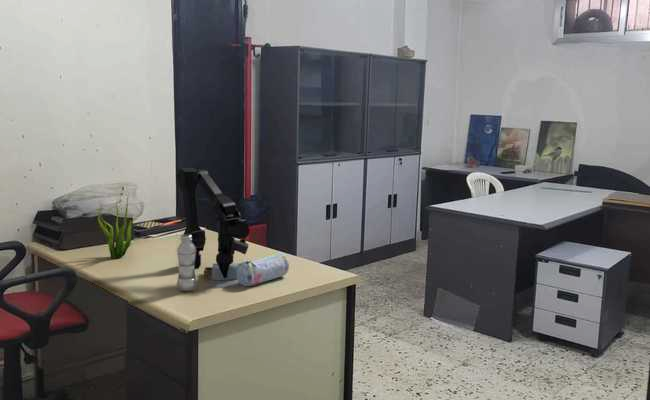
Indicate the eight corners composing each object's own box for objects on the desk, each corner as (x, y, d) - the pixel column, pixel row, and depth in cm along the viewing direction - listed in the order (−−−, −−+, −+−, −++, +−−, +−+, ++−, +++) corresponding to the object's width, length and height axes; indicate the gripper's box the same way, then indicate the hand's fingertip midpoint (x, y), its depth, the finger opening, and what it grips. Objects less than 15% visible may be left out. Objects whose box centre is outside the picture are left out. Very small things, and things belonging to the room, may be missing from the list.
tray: (204, 279, 228) (203, 270, 227) (205, 275, 233) (205, 267, 232) (246, 278, 230) (246, 270, 229) (247, 275, 234) (247, 267, 234)
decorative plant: (84, 203, 240) (89, 187, 253) (110, 263, 255) (114, 244, 268) (129, 192, 242) (131, 176, 254) (153, 252, 257) (154, 233, 269)
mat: (206, 288, 216) (206, 287, 216) (208, 282, 224) (208, 281, 224) (240, 288, 218) (240, 287, 218) (241, 281, 225) (241, 281, 225)
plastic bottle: (178, 287, 216) (177, 233, 213) (197, 287, 217) (197, 233, 214) (175, 293, 210) (174, 237, 207) (195, 293, 211) (194, 237, 207)
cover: (211, 280, 227) (211, 268, 226) (213, 274, 234) (213, 263, 233) (238, 279, 228) (238, 268, 228) (239, 274, 235) (239, 263, 234)
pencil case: (249, 289, 216) (249, 263, 214) (233, 284, 221) (233, 258, 220) (290, 278, 231) (291, 254, 230) (274, 273, 237) (275, 250, 236)
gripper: (246, 239, 220) (246, 281, 223) (247, 229, 239) (247, 267, 241) (215, 239, 219) (216, 281, 221) (219, 229, 237) (219, 267, 240)
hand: (225, 274), depth 231 cm, fingers open, 9 cm apart
